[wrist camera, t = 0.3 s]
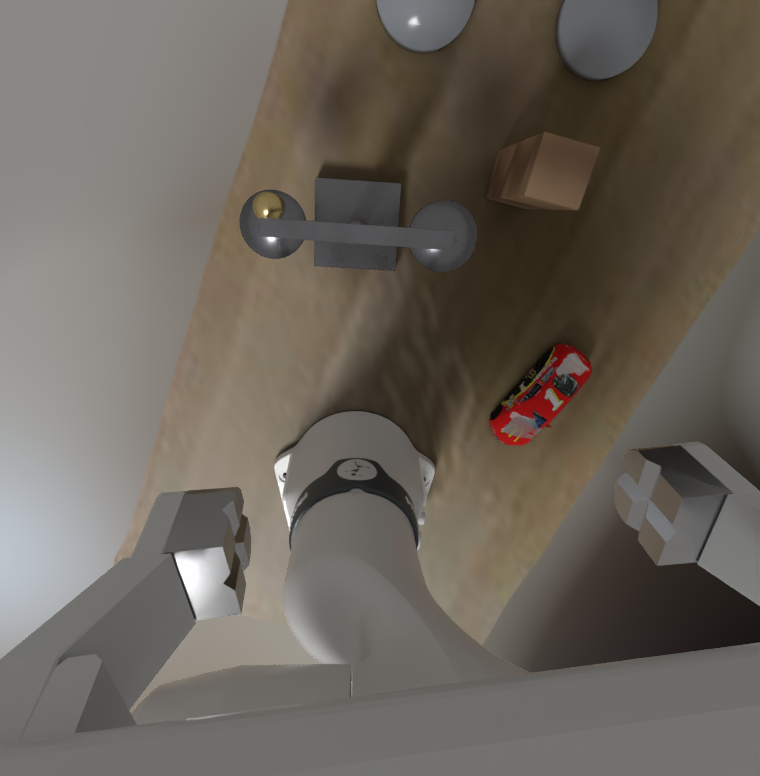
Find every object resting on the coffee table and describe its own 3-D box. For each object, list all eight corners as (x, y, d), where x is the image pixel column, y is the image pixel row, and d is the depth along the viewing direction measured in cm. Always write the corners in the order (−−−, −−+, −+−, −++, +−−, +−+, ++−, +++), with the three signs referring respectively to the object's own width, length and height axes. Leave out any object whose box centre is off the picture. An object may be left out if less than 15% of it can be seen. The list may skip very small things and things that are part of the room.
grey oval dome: (636, 84, 44) (644, 81, 43) (547, 77, 44) (552, 73, 43) (660, -29, 41) (669, -36, 40) (565, -38, 41) (571, -45, 40)
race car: (511, 447, 57) (521, 464, 54) (477, 422, 56) (486, 437, 52) (592, 363, 54) (609, 375, 50) (558, 335, 53) (574, 345, 49)
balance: (441, 271, 49) (484, 305, 32) (267, 261, 48) (216, 291, 31) (449, 187, 47) (502, 175, 30) (265, 175, 46) (208, 155, 28)
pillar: (526, 209, 48) (578, 210, 37) (484, 198, 47) (524, 195, 36) (542, 162, 46) (600, 147, 35) (499, 150, 46) (544, 131, 35)
